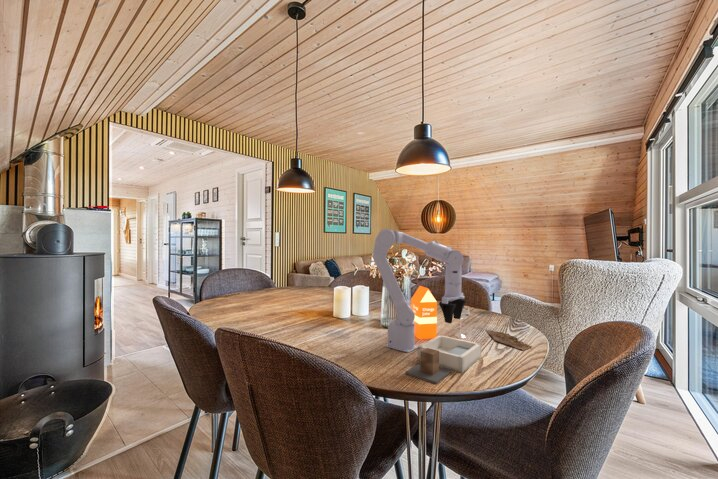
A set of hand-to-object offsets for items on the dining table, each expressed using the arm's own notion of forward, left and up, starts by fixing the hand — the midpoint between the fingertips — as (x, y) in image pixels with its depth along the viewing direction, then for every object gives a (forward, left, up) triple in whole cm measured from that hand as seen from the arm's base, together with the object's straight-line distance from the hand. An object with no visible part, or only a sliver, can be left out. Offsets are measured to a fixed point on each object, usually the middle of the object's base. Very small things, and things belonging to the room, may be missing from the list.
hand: (452, 320), depth 114 cm
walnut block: (+3, -24, -10) cm, 26 cm away
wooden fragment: (+11, +25, -11) cm, 29 cm away
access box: (+3, -9, -10) cm, 14 cm away
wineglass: (-4, +18, -11) cm, 21 cm away
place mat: (+3, -24, -10) cm, 26 cm away
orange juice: (-16, +8, -11) cm, 21 cm away
